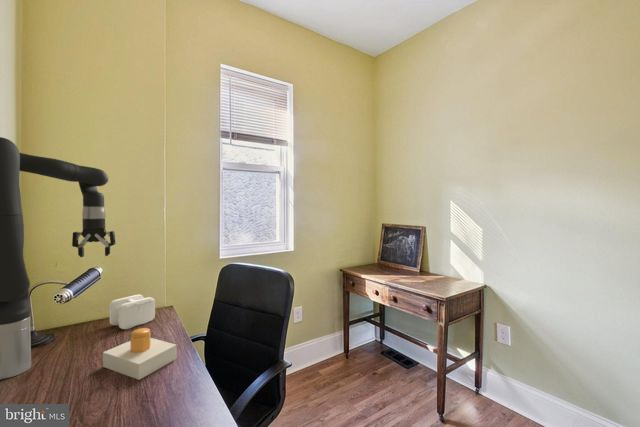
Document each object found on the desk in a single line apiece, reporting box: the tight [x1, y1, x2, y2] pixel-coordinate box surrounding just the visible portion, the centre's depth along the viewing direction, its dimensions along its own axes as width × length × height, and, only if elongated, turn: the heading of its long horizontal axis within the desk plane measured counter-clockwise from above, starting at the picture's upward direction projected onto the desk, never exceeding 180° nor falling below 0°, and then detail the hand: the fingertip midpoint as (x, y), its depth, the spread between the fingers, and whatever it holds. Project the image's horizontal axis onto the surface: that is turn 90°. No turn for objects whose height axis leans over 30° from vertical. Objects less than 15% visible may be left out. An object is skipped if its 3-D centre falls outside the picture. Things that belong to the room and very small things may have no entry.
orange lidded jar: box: [129, 327, 152, 353], centre depth 102 cm, size 6×6×6 cm
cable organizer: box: [108, 294, 156, 330], centre depth 136 cm, size 15×11×12 cm
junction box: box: [102, 337, 178, 381], centre depth 103 cm, size 14×18×5 cm
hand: (94, 256), depth 123 cm, fingers open, 8 cm apart
